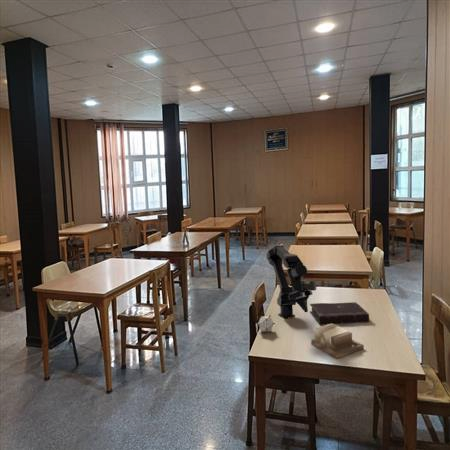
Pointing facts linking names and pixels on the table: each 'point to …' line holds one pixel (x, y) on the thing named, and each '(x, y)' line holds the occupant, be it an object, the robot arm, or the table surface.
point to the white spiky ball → (265, 323)
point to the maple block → (333, 337)
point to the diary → (338, 313)
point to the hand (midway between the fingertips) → (306, 312)
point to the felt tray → (354, 348)
